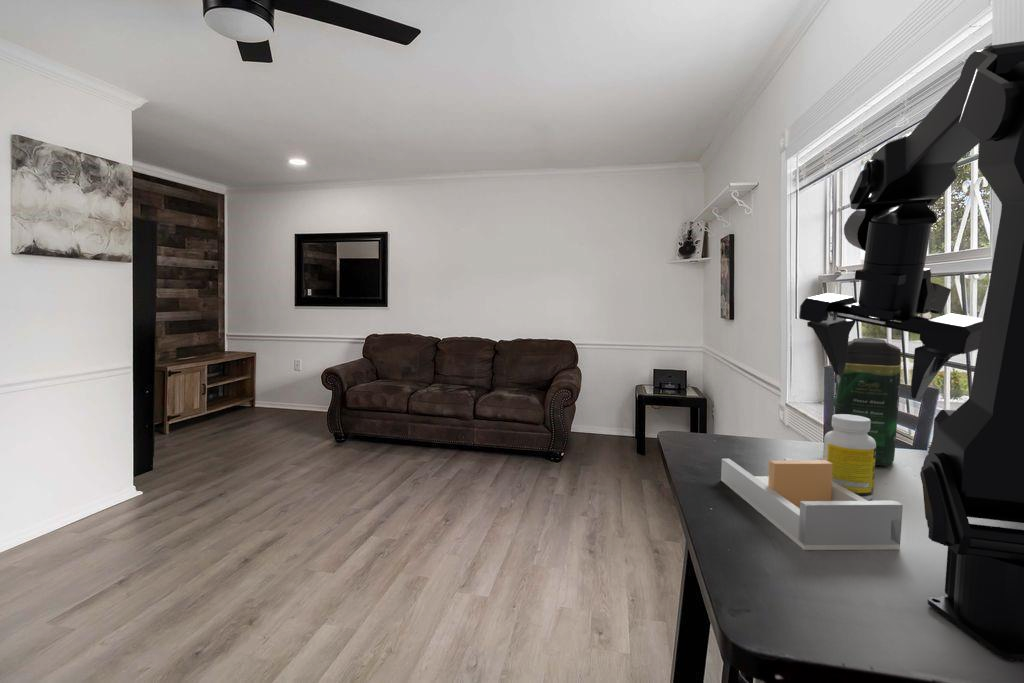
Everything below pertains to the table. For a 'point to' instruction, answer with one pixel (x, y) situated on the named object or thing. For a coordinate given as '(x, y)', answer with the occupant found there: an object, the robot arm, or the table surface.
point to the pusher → (801, 479)
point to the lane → (821, 514)
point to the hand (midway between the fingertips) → (875, 385)
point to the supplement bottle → (851, 454)
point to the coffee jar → (872, 391)
